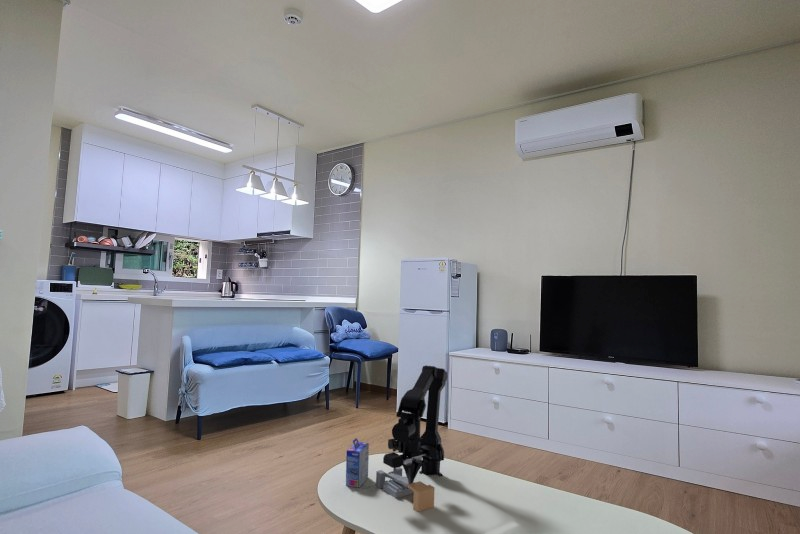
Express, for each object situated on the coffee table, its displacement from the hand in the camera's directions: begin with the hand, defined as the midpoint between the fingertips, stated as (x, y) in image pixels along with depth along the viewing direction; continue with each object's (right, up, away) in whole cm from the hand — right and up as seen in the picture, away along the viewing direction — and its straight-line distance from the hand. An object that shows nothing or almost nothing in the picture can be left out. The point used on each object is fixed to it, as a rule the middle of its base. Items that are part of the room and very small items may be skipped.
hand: (410, 483), depth 141 cm
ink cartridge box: (-19, -6, +13) cm, 24 cm away
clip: (+3, -5, -4) cm, 7 cm away
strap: (-4, -2, +5) cm, 6 cm away
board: (-2, -6, +2) cm, 7 cm away
